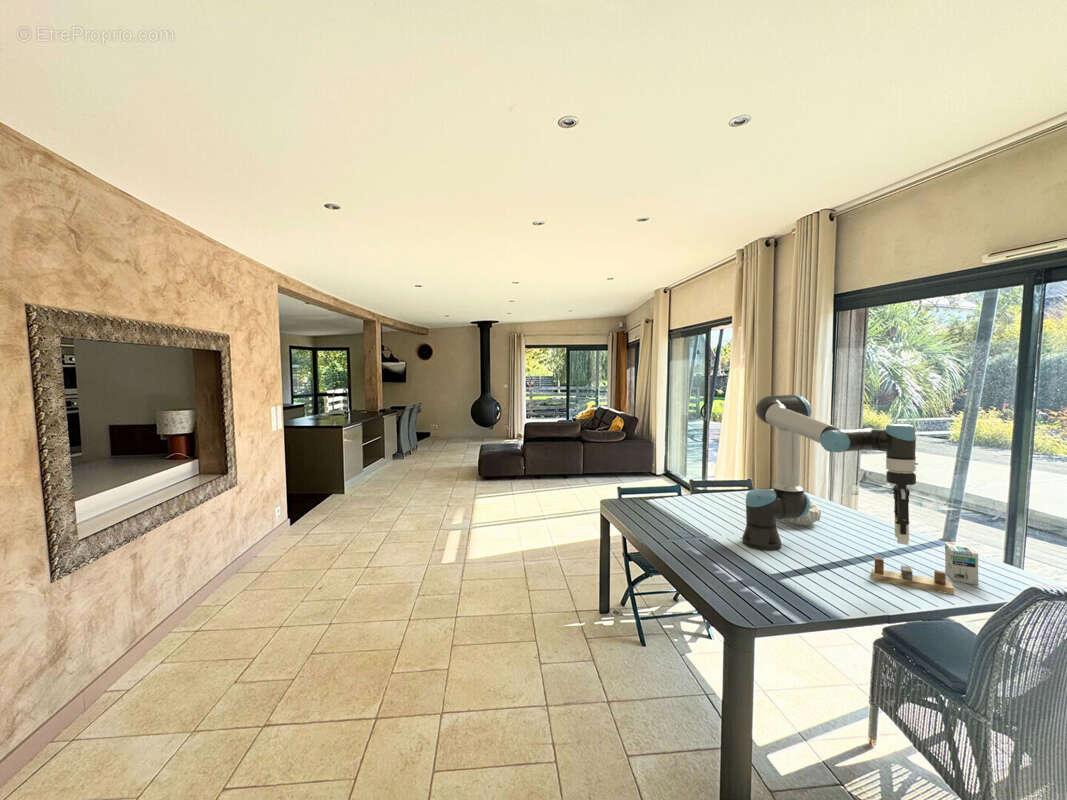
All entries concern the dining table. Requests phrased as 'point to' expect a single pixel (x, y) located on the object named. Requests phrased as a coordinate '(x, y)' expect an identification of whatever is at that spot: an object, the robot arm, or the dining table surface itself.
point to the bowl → (808, 516)
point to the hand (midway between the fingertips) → (901, 540)
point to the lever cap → (896, 526)
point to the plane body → (911, 578)
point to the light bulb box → (961, 563)
